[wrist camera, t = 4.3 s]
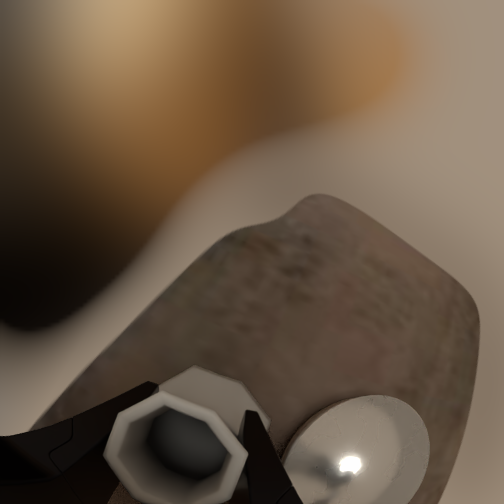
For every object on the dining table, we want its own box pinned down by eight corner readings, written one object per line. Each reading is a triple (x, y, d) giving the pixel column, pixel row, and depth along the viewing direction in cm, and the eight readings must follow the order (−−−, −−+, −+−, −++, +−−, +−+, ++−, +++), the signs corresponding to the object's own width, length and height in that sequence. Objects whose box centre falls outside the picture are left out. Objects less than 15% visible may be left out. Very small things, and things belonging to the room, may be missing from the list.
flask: (292, 416, 14) (385, 417, 5) (217, 504, 10) (213, 602, 2) (192, 344, 16) (157, 258, 7) (118, 428, 12) (4, 431, 4)
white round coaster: (381, 522, 9) (401, 532, 7) (252, 513, 10) (257, 529, 8) (419, 408, 14) (442, 404, 12) (303, 383, 15) (316, 379, 13)
